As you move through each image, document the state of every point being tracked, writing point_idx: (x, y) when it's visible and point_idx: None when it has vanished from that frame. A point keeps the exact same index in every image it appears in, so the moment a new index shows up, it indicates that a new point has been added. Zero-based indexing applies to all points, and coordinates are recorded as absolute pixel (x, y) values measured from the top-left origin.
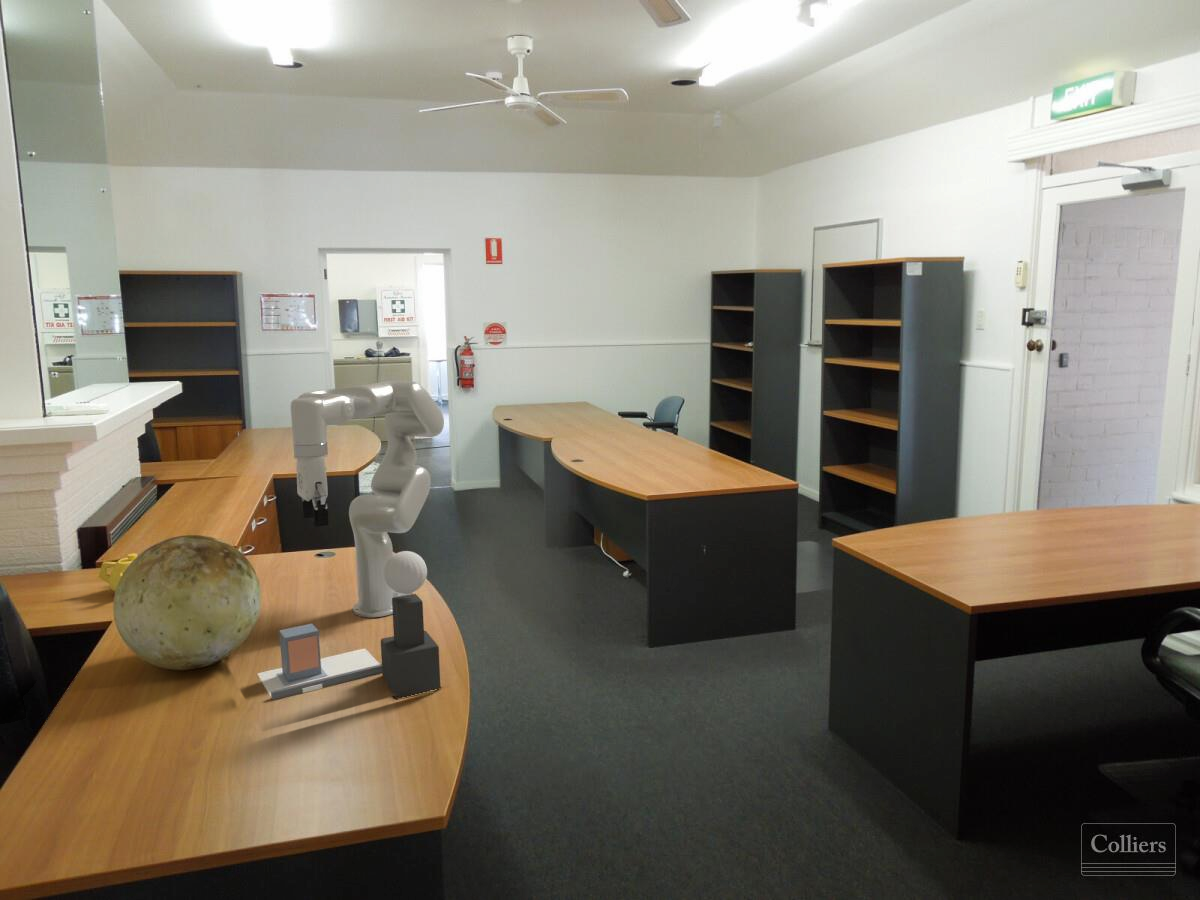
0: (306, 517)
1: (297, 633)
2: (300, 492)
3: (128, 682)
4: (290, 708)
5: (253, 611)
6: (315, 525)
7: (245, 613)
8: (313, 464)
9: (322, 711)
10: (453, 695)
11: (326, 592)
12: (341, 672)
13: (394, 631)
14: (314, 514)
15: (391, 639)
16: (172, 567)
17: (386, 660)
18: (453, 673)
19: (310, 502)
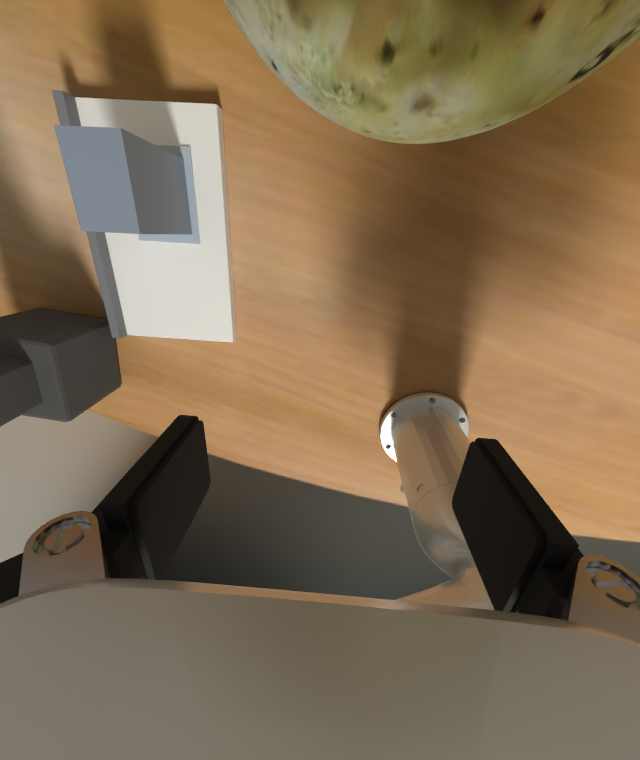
0: (468, 450)
1: (77, 171)
2: (421, 724)
3: None
4: None
5: (275, 74)
6: (177, 421)
7: (235, 21)
8: None
9: (31, 189)
10: None
11: (593, 394)
12: (145, 268)
13: (1, 367)
14: (130, 477)
15: (35, 358)
16: None
17: (25, 326)
18: (105, 410)
19: (511, 582)
